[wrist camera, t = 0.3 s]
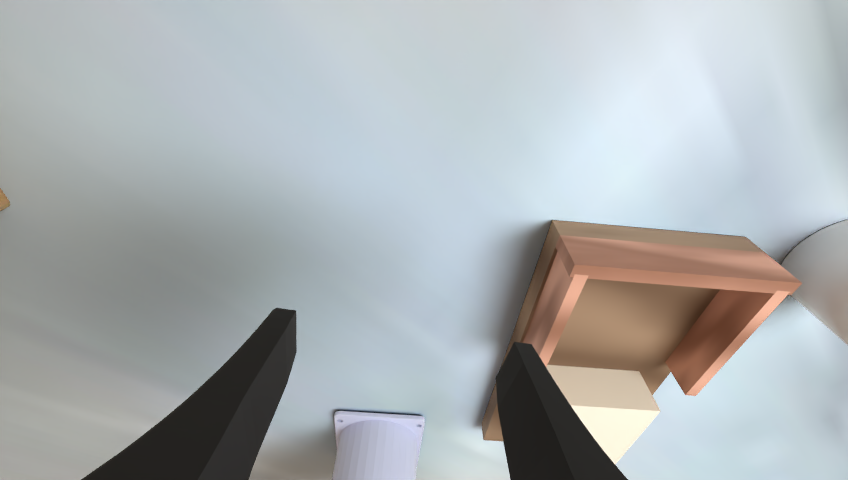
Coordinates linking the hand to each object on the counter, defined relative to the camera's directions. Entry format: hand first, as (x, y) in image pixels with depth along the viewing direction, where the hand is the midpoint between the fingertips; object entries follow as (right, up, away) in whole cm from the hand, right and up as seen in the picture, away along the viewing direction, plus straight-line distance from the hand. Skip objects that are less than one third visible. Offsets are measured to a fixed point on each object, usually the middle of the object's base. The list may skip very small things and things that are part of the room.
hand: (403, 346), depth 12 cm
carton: (+12, -9, +16) cm, 22 cm away
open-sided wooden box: (+13, -5, +15) cm, 20 cm away
